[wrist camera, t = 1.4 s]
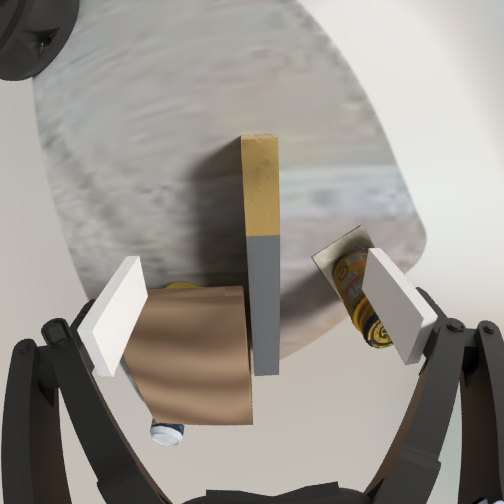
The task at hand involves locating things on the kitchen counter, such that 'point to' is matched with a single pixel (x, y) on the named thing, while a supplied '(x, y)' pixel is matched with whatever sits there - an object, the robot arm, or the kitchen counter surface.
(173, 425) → the beer can
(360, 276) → the condiment
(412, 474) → the robot arm
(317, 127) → the kitchen counter surface
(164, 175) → the kitchen counter surface
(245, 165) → the two-tone wooden bar
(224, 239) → the kitchen counter surface
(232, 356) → the small brown wooden table
